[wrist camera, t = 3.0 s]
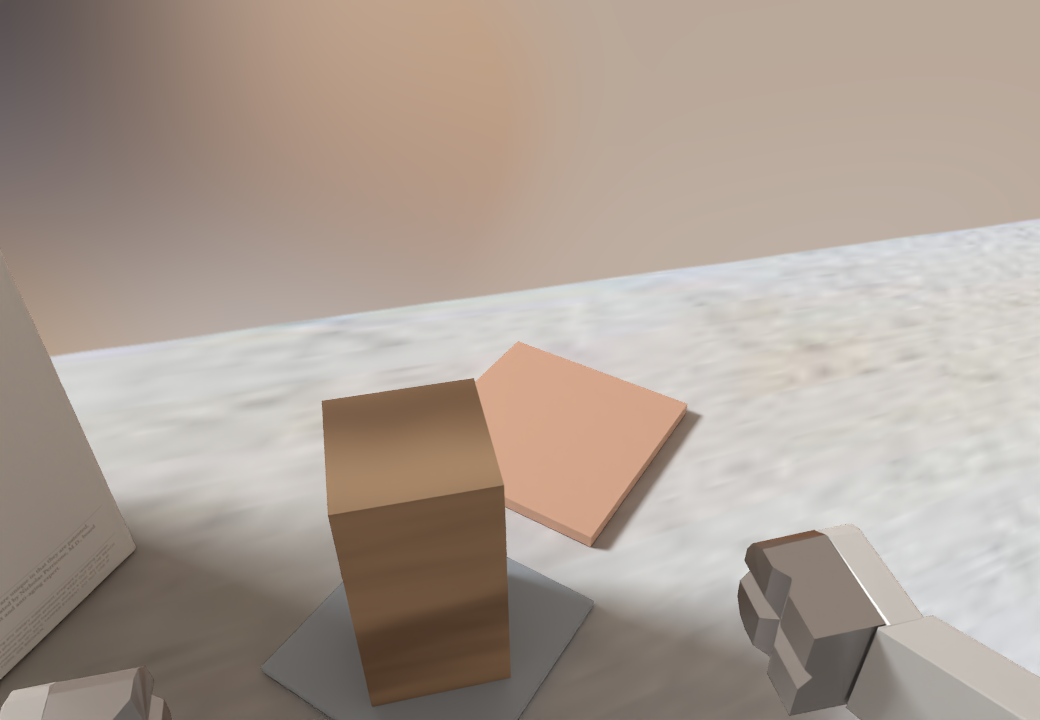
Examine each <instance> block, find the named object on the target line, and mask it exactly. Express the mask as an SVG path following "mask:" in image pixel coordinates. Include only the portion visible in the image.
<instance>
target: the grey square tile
mask: <svg viewBox="0 0 1040 720" xmlns="http://www.w3.org/2000/svg"><path fill="white" fill-rule="evenodd" d="M507 581H508V610H509V639H510V668H511V678H507V679H502V680H497V681H493V682H488V683H483V684H478V685H474V686H469V687H464V688H459V689H455V690H450V691H445V692H440V693H436V694H431V695H426V696H421V697H417V698H412V699H407V700H402V701H398V702H393V703H388V704H383V705H379V706H374V707H372V705H371V701H370V697H369V692H368V688H367V684H366V679H365V675H364V670H363V666H362V662H361V657H360V653H359V649H358V644H357V640H356V635H355V631H354V627H353V622H352V618H351V614H350V609H349V605H348V600H347V596H346V592H345V587H344V583H343V582H342V583H341V584H340V586H339V587H338V588H337V589H336V590H335V591H334V592H333V593H332V594H331V595H330V596H329V597H328V598H327V599H326V600H325V601H324V602H323V603H322V604H321V605H320V606H319V607H318V608H317V609H316V610H315V611H314V612H313V613H312V614H311V615H310V617H309V618H308V619H307V620H306V621H305V622H304V623H303V624H302V625H301V626H300V627H299V628H298V629H297V630H296V631H295V632H294V633H293V634H292V635H291V636H290V637H289V638H288V639H287V640H286V641H285V642H284V643H283V644H282V645H281V647H280V648H279V649H278V650H277V651H276V652H275V653H274V654H273V655H272V656H271V657H270V658H269V659H268V660H267V661H266V662H265V663H264V664H263V665H262V666H261V669H262V672H264V673H265V674H267V675H268V676H270V677H271V678H273V679H274V680H276V681H277V682H279V683H280V684H282V685H283V686H285V687H286V688H288V689H289V690H290V691H292V692H293V693H295V694H296V695H298V696H299V697H301V698H302V699H304V700H305V701H307V702H308V703H310V704H311V705H313V706H314V707H316V708H317V709H318V710H320V711H321V712H323V713H324V714H326V715H327V716H329V717H330V718H332V719H333V720H518V718H519V717H520V715H521V714H522V712H523V711H524V709H525V708H526V706H527V705H528V703H529V702H530V700H531V699H532V697H533V696H534V694H535V693H536V691H537V690H538V688H539V687H540V685H541V684H542V682H543V681H544V679H545V678H546V676H547V675H548V673H549V672H550V670H551V669H552V667H553V666H554V664H555V663H556V661H557V660H558V658H559V657H560V655H561V654H562V652H563V651H564V649H565V648H566V646H567V645H568V643H569V641H570V640H571V638H572V637H573V635H574V634H575V632H576V631H577V629H578V628H579V626H580V625H581V623H582V622H583V620H584V619H585V617H586V616H587V614H588V613H589V611H590V610H591V608H592V607H593V604H594V601H593V600H591V599H589V598H587V597H585V596H583V595H581V594H579V593H577V592H575V591H573V590H571V589H569V588H567V587H565V586H563V585H561V584H559V583H557V582H555V581H553V580H551V579H550V578H548V577H546V576H544V575H542V574H540V573H538V572H536V571H534V570H532V569H530V568H528V567H526V566H524V565H522V564H520V563H518V562H516V561H514V560H512V559H510V558H508V557H507Z"/></svg>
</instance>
